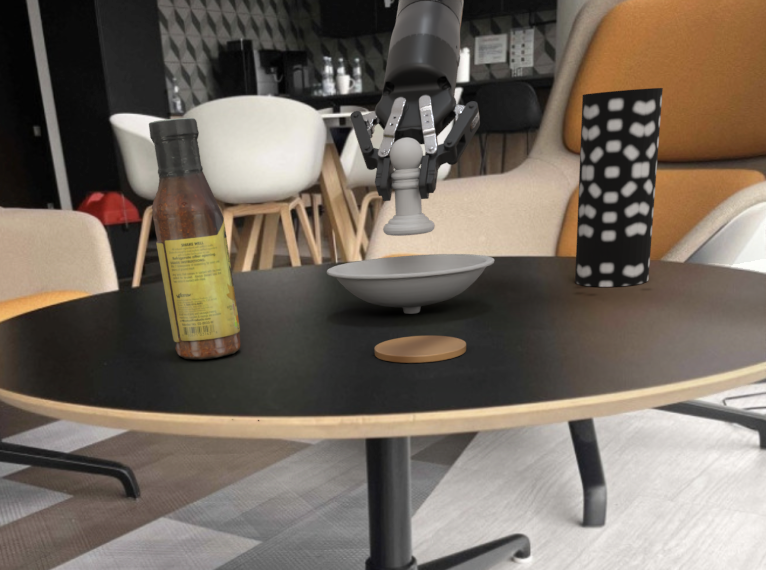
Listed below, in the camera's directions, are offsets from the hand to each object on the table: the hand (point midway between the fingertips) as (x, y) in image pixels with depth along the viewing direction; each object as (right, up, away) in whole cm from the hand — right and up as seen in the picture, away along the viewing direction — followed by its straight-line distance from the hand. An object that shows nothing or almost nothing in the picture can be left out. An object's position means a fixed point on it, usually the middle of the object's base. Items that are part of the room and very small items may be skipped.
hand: (404, 193), depth 87 cm
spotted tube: (+26, -4, +16) cm, 31 cm away
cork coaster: (+1, -18, -11) cm, 21 cm away
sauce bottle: (-19, -17, -5) cm, 26 cm away
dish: (+1, -10, +7) cm, 12 cm away
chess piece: (+1, -3, +3) cm, 5 cm away
